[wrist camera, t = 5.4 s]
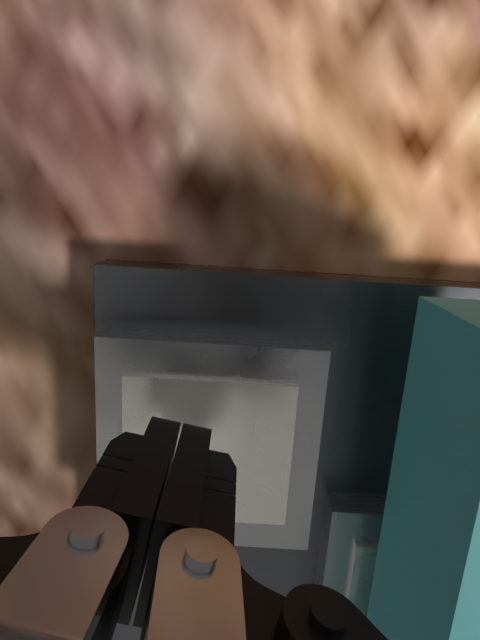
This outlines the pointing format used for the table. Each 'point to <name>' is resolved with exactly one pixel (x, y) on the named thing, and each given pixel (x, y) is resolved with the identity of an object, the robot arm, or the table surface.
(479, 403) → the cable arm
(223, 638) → the robot arm
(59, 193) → the table surface
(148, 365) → the board
